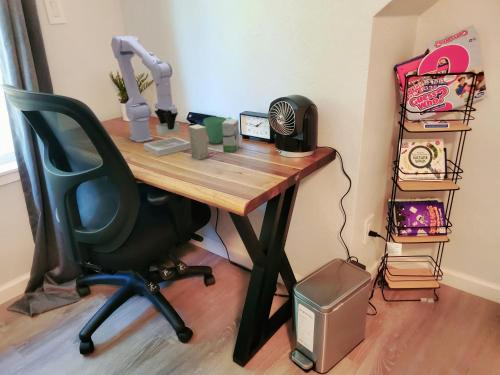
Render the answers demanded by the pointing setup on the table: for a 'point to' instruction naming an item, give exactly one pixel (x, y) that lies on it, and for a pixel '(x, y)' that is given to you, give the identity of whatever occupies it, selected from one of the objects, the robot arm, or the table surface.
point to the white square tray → (167, 146)
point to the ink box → (230, 135)
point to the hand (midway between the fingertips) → (167, 128)
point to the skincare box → (198, 141)
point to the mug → (214, 128)
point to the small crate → (164, 130)
